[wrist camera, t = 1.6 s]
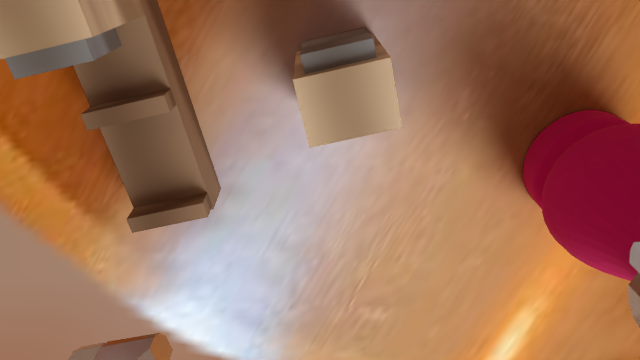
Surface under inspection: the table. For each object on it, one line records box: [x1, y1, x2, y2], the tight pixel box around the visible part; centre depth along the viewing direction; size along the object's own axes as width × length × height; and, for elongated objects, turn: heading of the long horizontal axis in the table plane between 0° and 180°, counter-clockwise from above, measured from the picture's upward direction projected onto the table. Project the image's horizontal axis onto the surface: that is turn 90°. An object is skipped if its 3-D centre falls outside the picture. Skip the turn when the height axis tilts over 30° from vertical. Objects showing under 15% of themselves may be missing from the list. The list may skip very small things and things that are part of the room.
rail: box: [0, 0, 221, 233], centre depth 23 cm, size 4×14×8 cm, turn 13°
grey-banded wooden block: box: [293, 27, 402, 148], centre depth 24 cm, size 4×4×6 cm
